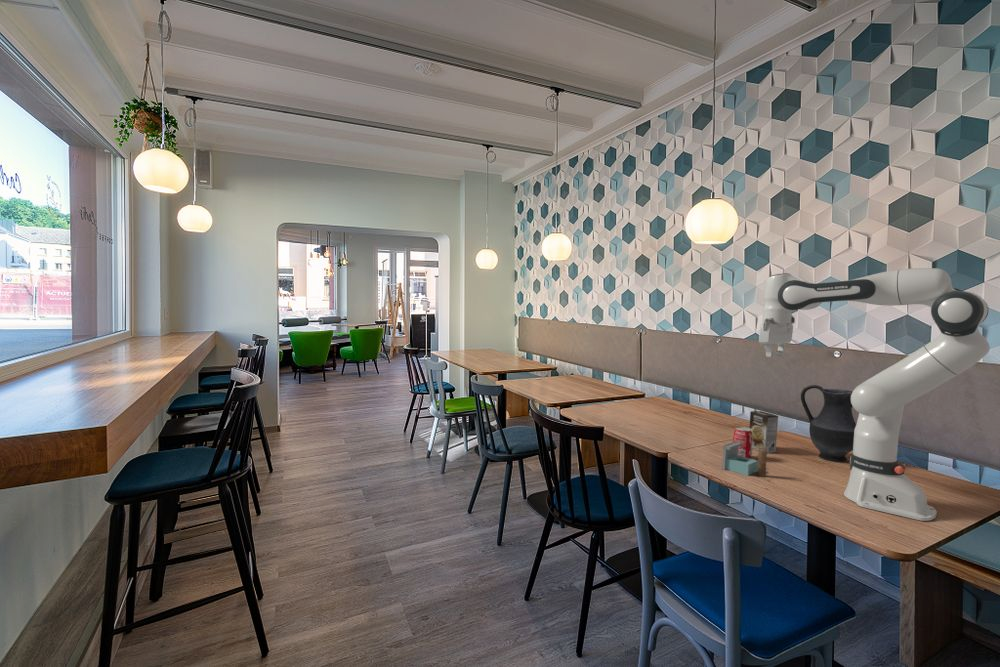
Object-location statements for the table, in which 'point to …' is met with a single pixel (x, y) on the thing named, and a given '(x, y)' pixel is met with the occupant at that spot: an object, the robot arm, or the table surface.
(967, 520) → the table surface
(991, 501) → the table surface
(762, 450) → the peg
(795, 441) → the table surface
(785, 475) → the table surface
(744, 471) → the socket station
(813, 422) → the pitcher
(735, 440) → the soda can
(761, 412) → the coffee box
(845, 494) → the robot arm
